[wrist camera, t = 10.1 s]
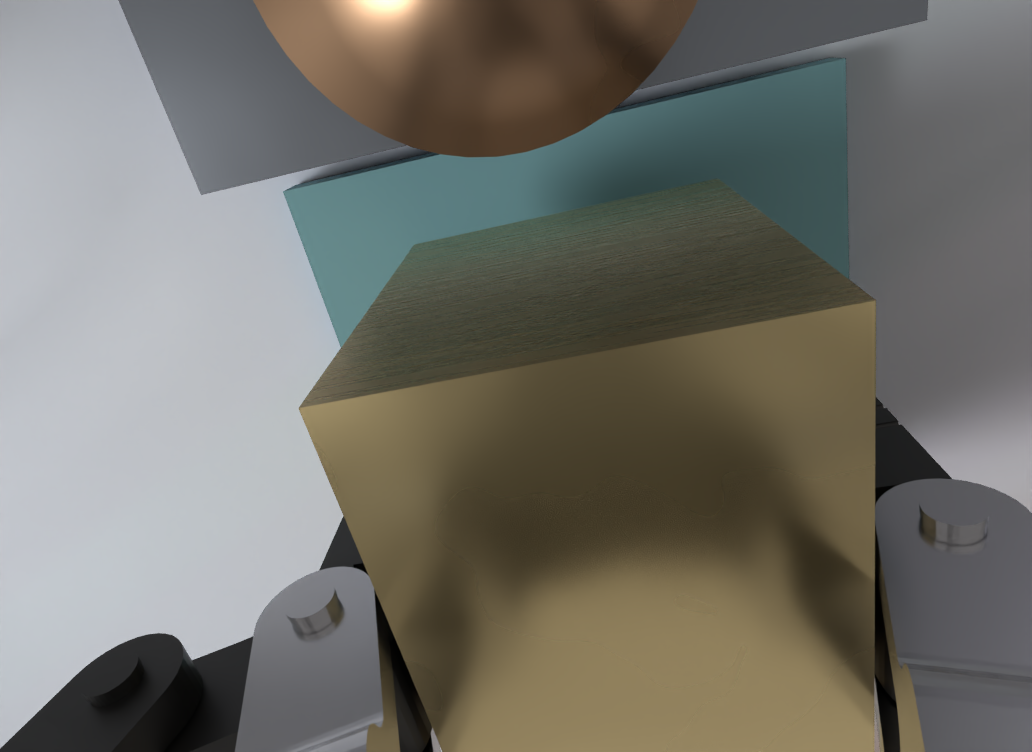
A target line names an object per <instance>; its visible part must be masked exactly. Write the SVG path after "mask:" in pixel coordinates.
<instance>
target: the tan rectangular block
mask: <svg viewBox="0 0 1032 752" xmlns="http://www.w3.org/2000/svg"><path fill="white" fill-rule="evenodd" d="M875 396H876V300H875V299H873V298H872V297H871V296H870V295H868V294H867V293H866V292H864V291H863V290H862V289H861V288H859V287H858V286H857V285H855V284H854V283H853V282H851V281H850V280H849V279H848V278H846V277H845V276H844V275H842V274H841V273H840V272H839V271H837V270H836V269H835V268H833V267H832V266H831V265H829V264H828V263H827V262H826V261H824V260H823V259H822V258H820V257H819V256H818V255H817V254H815V253H814V252H813V251H811V250H810V249H809V248H807V247H806V246H805V245H804V244H802V243H801V242H800V241H798V240H797V239H796V238H794V237H793V236H792V235H791V234H789V233H788V232H787V231H785V230H784V229H783V228H782V227H780V226H779V225H778V224H776V223H775V222H774V221H772V220H771V219H770V218H769V217H767V216H766V215H765V214H763V213H762V212H761V211H760V210H758V209H757V208H756V207H754V206H753V205H752V204H750V203H749V202H748V201H747V200H745V199H744V198H743V197H741V196H740V195H739V194H738V193H736V192H735V191H734V190H732V189H731V188H730V187H728V186H727V185H726V184H725V183H723V182H722V181H721V180H719V179H718V178H716V179H711V180H707V181H702V182H698V183H693V184H688V185H684V186H679V187H675V188H670V189H666V190H661V191H656V192H652V193H647V194H643V195H638V196H634V197H629V198H624V199H620V200H615V201H611V202H606V203H601V204H597V205H592V206H588V207H583V208H579V209H574V210H569V211H565V212H560V213H556V214H551V215H547V216H542V217H537V218H533V219H528V220H524V221H519V222H514V223H510V224H505V225H501V226H496V227H492V228H487V229H482V230H478V231H473V232H469V233H464V234H460V235H455V236H450V237H446V238H441V239H437V240H432V241H427V242H423V243H418V244H414V246H413V247H412V248H411V250H410V251H409V253H408V254H407V255H406V257H405V258H404V260H403V261H402V263H401V264H400V265H399V267H398V268H397V270H396V271H395V272H394V274H393V275H392V277H391V278H390V280H389V281H388V282H387V284H386V285H385V287H384V288H383V289H382V291H381V292H380V294H379V295H378V297H377V298H376V299H375V301H374V302H373V304H372V305H371V306H370V308H369V309H368V311H367V312H366V313H365V315H364V316H363V318H362V319H361V321H360V322H359V323H358V325H357V326H356V328H355V329H354V330H353V332H352V333H351V335H350V336H349V338H348V339H347V340H346V342H345V343H344V345H343V346H342V347H341V349H340V350H339V352H338V353H337V355H336V356H335V357H334V359H333V360H332V362H331V363H330V364H329V366H328V367H327V369H326V370H325V372H324V373H323V374H322V376H321V377H320V379H319V380H318V381H317V383H316V384H315V386H314V387H313V389H312V390H311V391H310V393H309V394H308V396H307V397H306V398H305V400H304V401H303V403H302V404H301V406H300V407H299V410H300V413H301V415H302V418H303V420H304V422H305V425H306V427H307V430H308V432H309V434H310V437H311V439H312V441H313V444H314V446H315V449H316V451H317V453H318V456H319V458H320V461H321V463H322V465H323V468H324V470H325V472H326V475H327V477H328V480H329V482H330V484H331V487H332V489H333V492H334V494H335V496H336V499H337V501H338V503H339V506H340V508H341V511H342V513H343V515H344V518H345V520H346V523H347V525H348V527H349V530H350V532H351V534H352V537H353V539H354V542H355V544H356V546H357V549H358V551H359V554H360V556H361V558H362V561H363V563H364V565H365V568H366V570H367V573H368V575H369V577H370V580H371V582H372V585H373V587H374V589H375V592H376V594H377V596H378V599H379V601H380V604H381V606H382V608H383V611H384V613H385V616H386V618H387V620H388V623H389V625H390V627H391V630H392V632H393V635H394V637H395V639H396V642H397V644H398V647H399V649H400V651H401V654H402V656H403V659H404V661H405V663H406V666H407V668H408V670H409V673H410V675H411V678H412V680H413V682H414V685H415V687H416V690H417V692H418V694H419V697H420V699H421V701H422V704H423V706H424V709H425V711H426V713H427V716H428V718H429V721H430V723H431V725H432V728H433V730H434V732H435V735H436V737H437V740H438V742H439V744H440V747H441V749H442V752H874V667H875Z"/></svg>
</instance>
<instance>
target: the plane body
mask: <svg viewBox="0 0 1032 752" xmlns="http://www.w3.org/2000/svg"><path fill="white" fill-rule="evenodd" d="M119 2H120V5H121V7H122V9H123V12H124V14H125V17H126V19H127V21H128V24H129V26H130V28H131V31H132V33H133V35H134V38H135V40H136V42H137V45H138V47H139V50H140V52H141V54H142V57H143V59H144V61H145V64H146V66H147V68H148V71H149V73H150V75H151V78H152V80H153V83H154V85H155V87H156V90H157V92H158V94H159V97H160V99H161V101H162V104H163V106H164V108H165V111H166V113H167V116H168V118H169V120H170V123H171V125H172V127H173V130H174V132H175V134H176V137H177V139H178V142H179V144H180V146H181V149H182V151H183V153H184V156H185V158H186V160H187V163H188V165H189V167H190V170H191V172H192V175H193V177H194V179H195V182H196V184H197V186H198V189H199V191H200V193H201V195H203V194H207V193H211V192H215V191H220V190H224V189H228V188H232V187H236V186H240V185H244V184H249V183H253V182H257V181H261V180H265V179H269V178H273V177H278V176H282V175H286V174H290V173H294V172H298V171H303V170H307V169H311V168H315V167H319V166H323V165H327V164H332V163H336V162H340V161H344V160H348V159H352V158H356V157H361V156H365V155H369V154H373V153H377V152H381V151H385V150H390V149H394V148H398V147H402V146H406V145H408V146H410V147H413V148H417V149H421V150H425V151H429V152H433V153H437V154H442V155H451V156H460V157H499V156H505V155H511V154H518V153H524V152H528V151H531V150H534V149H538V148H541V147H544V146H547V145H551V144H554V143H556V142H558V141H560V140H563V139H565V138H567V137H569V136H571V135H573V134H576V133H578V132H580V131H582V130H583V129H585V128H586V127H588V126H590V125H591V124H593V123H594V122H596V121H598V120H599V119H601V118H602V117H604V116H605V115H607V114H608V113H609V112H611V111H612V110H613V109H614V108H615V107H617V106H618V105H619V104H620V103H622V102H623V101H624V100H625V99H626V98H628V97H629V96H630V95H631V94H632V93H633V92H634V91H635V90H639V89H643V88H647V87H651V86H655V85H659V84H663V83H668V82H672V81H676V80H680V79H684V78H688V77H692V76H697V75H701V74H705V73H709V72H713V71H717V70H721V69H726V68H730V67H734V66H738V65H742V64H746V63H751V62H755V61H759V60H763V59H767V58H771V57H775V56H780V55H784V54H788V53H792V52H796V51H800V50H804V49H809V48H813V47H817V46H821V45H825V44H829V43H833V42H838V41H842V40H846V39H850V38H854V37H858V36H863V35H867V34H871V33H875V32H879V31H883V30H887V29H892V28H896V27H900V26H904V25H908V24H912V23H916V22H921V21H925V20H927V10H928V0H119Z"/></svg>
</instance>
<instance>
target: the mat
mask: <svg viewBox="0 0 1032 752" xmlns="http://www.w3.org/2000/svg"><path fill="white" fill-rule="evenodd" d="M716 178H718V179H719V180H721V181H722V182H723V183H725V184H726V185H727V186H728V187H730V188H731V189H732V190H734V191H735V192H736V193H738V194H739V195H740V196H741V197H743V198H744V199H745V200H747V201H748V202H749V203H750V204H752V205H753V206H754V207H756V208H757V209H758V210H760V211H761V212H762V213H763V214H765V215H766V216H767V217H769V218H770V219H771V220H772V221H774V222H775V223H776V224H778V225H779V226H780V227H782V228H783V229H784V230H785V231H787V232H788V233H789V234H791V235H792V236H793V237H794V238H796V239H797V240H798V241H800V242H801V243H802V244H804V245H805V246H806V247H807V248H809V249H810V250H811V251H813V252H814V253H815V254H817V255H818V256H819V257H820V258H822V259H823V260H824V261H826V262H827V263H828V264H829V265H831V266H832V267H833V268H835V269H836V270H837V271H839V272H840V273H841V274H842V275H844V276H845V277H846V278H848V279H849V244H848V178H847V112H846V58H827V59H823V60H819V61H815V62H811V63H806V64H802V65H798V66H794V67H790V68H785V69H781V70H777V71H773V72H769V73H764V74H760V75H756V76H752V77H748V78H743V79H739V80H735V81H731V82H727V83H722V84H718V85H714V86H710V87H706V88H701V89H697V90H693V91H689V92H685V93H680V94H676V95H672V96H668V97H664V98H659V99H655V100H651V101H647V102H643V103H638V104H634V105H630V106H626V107H622V108H617V109H613V110H612V111H611V112H609V113H608V114H607V115H605V116H604V117H602V118H601V119H599V120H598V121H596V122H594V123H593V124H591V125H590V126H588V127H586V128H585V129H583V130H582V131H580V132H578V133H576V134H573V135H571V136H569V137H567V138H565V139H563V140H560V141H558V142H556V143H554V144H551V145H547V146H544V147H541V148H538V149H534V150H531V151H528V152H524V153H518V154H511V155H505V156H499V157H460V156H451V155H442V154H437V153H428V154H424V155H420V156H416V157H412V158H407V159H403V160H399V161H395V162H391V163H386V164H382V165H378V166H374V167H370V168H365V169H361V170H357V171H353V172H349V173H344V174H340V175H336V176H332V177H328V178H323V179H319V180H315V181H311V182H307V183H302V184H298V185H295V186H293V187H291V188H289V189H287V190H285V191H283V193H284V195H285V198H286V201H287V203H288V206H289V209H290V211H291V214H292V217H293V220H294V222H295V225H296V228H297V230H298V233H299V236H300V238H301V241H302V244H303V246H304V249H305V252H306V255H307V257H308V260H309V263H310V265H311V268H312V271H313V273H314V276H315V279H316V281H317V284H318V287H319V290H320V292H321V295H322V298H323V300H324V303H325V306H326V308H327V311H328V314H329V316H330V319H331V322H332V325H333V327H334V330H335V333H336V335H337V338H338V341H339V343H340V346H341V347H342V346H343V345H344V343H345V342H346V340H347V339H348V338H349V336H350V335H351V333H352V332H353V330H354V329H355V328H356V326H357V325H358V323H359V322H360V321H361V319H362V318H363V316H364V315H365V313H366V312H367V311H368V309H369V308H370V306H371V305H372V304H373V302H374V301H375V299H376V298H377V297H378V295H379V294H380V292H381V291H382V289H383V288H384V287H385V285H386V284H387V282H388V281H389V280H390V278H391V277H392V275H393V274H394V272H395V271H396V270H397V268H398V267H399V265H400V264H401V263H402V261H403V260H404V258H405V257H406V255H407V254H408V253H409V251H410V250H411V248H412V247H413V246H414V244H418V243H423V242H427V241H432V240H437V239H441V238H446V237H450V236H455V235H460V234H464V233H469V232H473V231H478V230H482V229H487V228H492V227H496V226H501V225H505V224H510V223H514V222H519V221H524V220H528V219H533V218H537V217H542V216H547V215H551V214H556V213H560V212H565V211H569V210H574V209H579V208H583V207H588V206H592V205H597V204H601V203H606V202H611V201H615V200H620V199H624V198H629V197H634V196H638V195H643V194H647V193H652V192H656V191H661V190H666V189H670V188H675V187H679V186H684V185H688V184H693V183H698V182H702V181H707V180H711V179H716Z"/></svg>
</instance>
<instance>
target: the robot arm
mask: <svg viewBox="0 0 1032 752" xmlns="http://www.w3.org/2000/svg"><path fill="white" fill-rule="evenodd" d="M874 706H875V714H876V722H877V731H878V739H879V747H880V752H1032V513H1031V512H1030V511H1029V510H1028V509H1027V508H1026V507H1025V506H1024V505H1022V504H1021V503H1020V502H1018V501H1017V500H1015V499H1013V498H1012V497H1010V496H1008V495H1006V494H1004V493H1002V492H1000V491H998V490H995V489H993V488H990V487H987V486H984V485H981V484H976V483H972V482H968V481H962V480H955V479H952V478H951V477H950V476H949V475H948V474H947V473H946V472H945V471H944V470H943V469H942V468H941V466H940V465H939V464H938V463H937V462H936V461H935V460H934V459H933V458H932V457H931V456H930V455H929V454H928V453H927V451H926V450H925V449H924V448H923V447H922V446H921V445H920V444H919V443H918V442H917V441H916V440H915V439H914V437H913V436H912V435H911V434H910V433H909V432H908V431H907V430H906V429H905V428H904V427H903V426H902V425H899V424H898V420H897V419H896V418H895V417H894V416H893V415H892V414H891V413H890V412H889V411H888V410H887V408H883V404H882V403H881V402H880V401H879V400H878V399H877V398H876V397H875V667H874ZM0 752H441V751H440V744H439V742H438V740H437V737H436V735H435V732H434V730H433V728H432V725H431V723H430V721H429V718H428V716H427V713H426V711H425V709H424V706H423V704H422V701H421V699H420V697H419V694H418V692H417V690H416V687H415V685H414V682H413V680H412V678H411V675H410V673H409V670H408V668H407V666H406V663H405V661H404V659H403V656H402V654H401V651H400V649H399V647H398V644H397V642H396V639H395V637H394V635H393V632H392V630H391V627H390V625H389V623H388V620H387V618H386V616H385V613H384V611H383V608H382V606H381V604H380V601H379V599H378V596H377V594H376V592H375V589H374V587H373V585H372V582H371V580H370V577H369V575H368V573H367V570H366V568H365V565H364V563H363V561H362V558H361V556H360V554H359V551H358V549H357V546H356V544H355V542H354V539H353V537H352V534H351V532H350V530H349V527H348V525H347V523H346V520H345V518H344V516H343V518H342V521H341V523H340V525H339V527H338V530H337V532H336V534H335V536H334V539H333V541H332V543H331V545H330V548H329V550H328V552H327V554H326V557H325V559H324V561H323V563H322V566H321V568H320V570H319V571H316V572H314V573H311V574H309V575H306V576H304V577H303V578H301V579H299V580H297V581H295V582H294V583H292V584H290V585H289V586H288V587H286V588H285V589H284V590H282V591H281V592H280V593H279V594H278V595H277V596H275V597H274V598H273V599H272V600H271V601H270V603H269V604H268V605H267V606H266V607H265V609H264V610H263V612H262V613H261V615H260V617H259V619H258V621H257V623H256V626H255V630H254V636H253V637H251V638H248V639H246V640H244V641H241V642H239V643H236V644H233V645H231V646H228V647H226V648H223V649H221V650H218V651H215V652H213V653H210V654H208V655H205V656H202V657H200V658H197V659H195V660H191V658H190V657H189V655H188V653H187V652H186V650H185V649H184V647H183V645H182V644H181V642H180V641H179V640H178V639H177V638H176V637H174V636H172V635H168V634H160V633H157V634H149V635H145V636H141V637H137V638H135V639H132V640H129V641H127V642H125V643H122V644H120V645H118V646H116V647H114V648H113V649H111V650H109V651H107V652H106V653H104V654H103V655H101V656H100V657H98V658H97V659H95V660H94V661H93V662H91V663H90V664H89V665H87V666H86V667H85V668H84V669H83V670H81V671H80V672H79V673H78V674H77V675H76V676H75V677H74V678H73V679H72V680H71V681H70V682H69V683H68V684H67V685H66V686H65V687H64V688H62V689H61V690H60V691H59V692H58V693H57V694H56V695H55V696H54V697H53V698H52V699H51V700H50V701H49V702H48V703H47V704H46V705H45V706H44V707H43V708H42V709H41V710H40V711H39V712H38V713H37V714H36V715H35V716H34V717H33V718H32V719H31V720H29V721H28V722H27V723H26V724H25V725H24V726H23V727H22V728H21V729H20V730H19V731H18V732H17V733H16V734H15V735H14V736H13V737H12V738H11V739H10V740H9V741H8V742H7V743H6V744H5V745H4V746H3V747H2V748H1V749H0Z"/></svg>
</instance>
